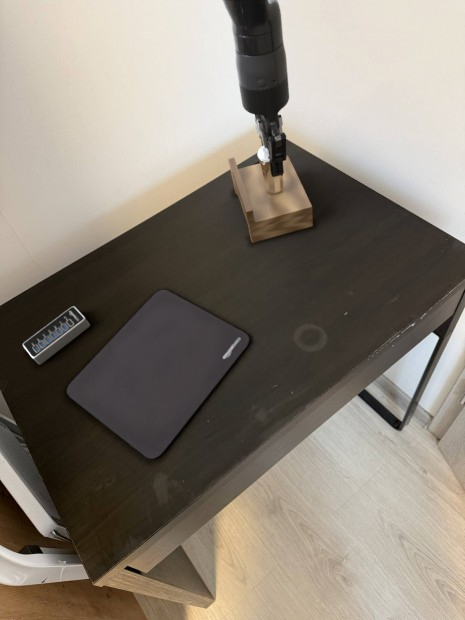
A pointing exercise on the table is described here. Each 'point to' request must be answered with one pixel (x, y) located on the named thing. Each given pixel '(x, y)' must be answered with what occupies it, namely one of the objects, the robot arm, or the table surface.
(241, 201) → the shelf
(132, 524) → the table surface
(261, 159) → the milkshake
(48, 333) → the multiport hub
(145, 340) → the mouse pad
